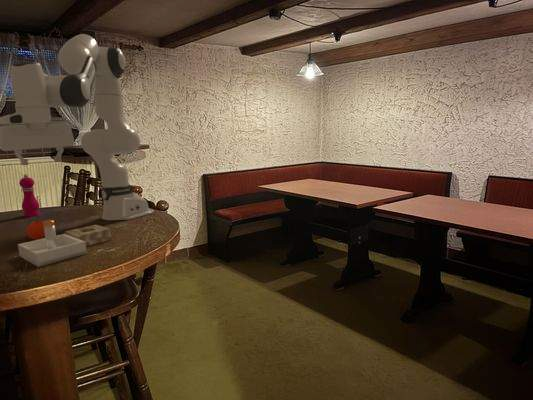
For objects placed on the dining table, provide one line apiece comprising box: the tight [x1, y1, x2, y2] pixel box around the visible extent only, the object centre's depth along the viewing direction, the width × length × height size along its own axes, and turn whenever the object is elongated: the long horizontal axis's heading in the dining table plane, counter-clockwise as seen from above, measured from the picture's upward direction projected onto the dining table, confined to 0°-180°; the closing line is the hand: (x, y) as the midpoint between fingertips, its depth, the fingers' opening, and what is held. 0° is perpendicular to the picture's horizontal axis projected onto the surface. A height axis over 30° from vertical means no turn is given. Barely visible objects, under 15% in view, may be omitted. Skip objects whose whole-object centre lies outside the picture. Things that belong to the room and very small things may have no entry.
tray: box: [17, 233, 88, 268], centre depth 119 cm, size 14×16×4 cm
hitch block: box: [64, 224, 112, 247], centre depth 134 cm, size 11×11×4 cm
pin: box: [42, 219, 58, 250], centre depth 119 cm, size 3×3×10 cm
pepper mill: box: [18, 173, 40, 218], centre depth 180 cm, size 7×7×20 cm
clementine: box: [26, 220, 45, 241], centre depth 138 cm, size 8×7×7 cm
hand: (41, 163), depth 117 cm, fingers open, 8 cm apart
